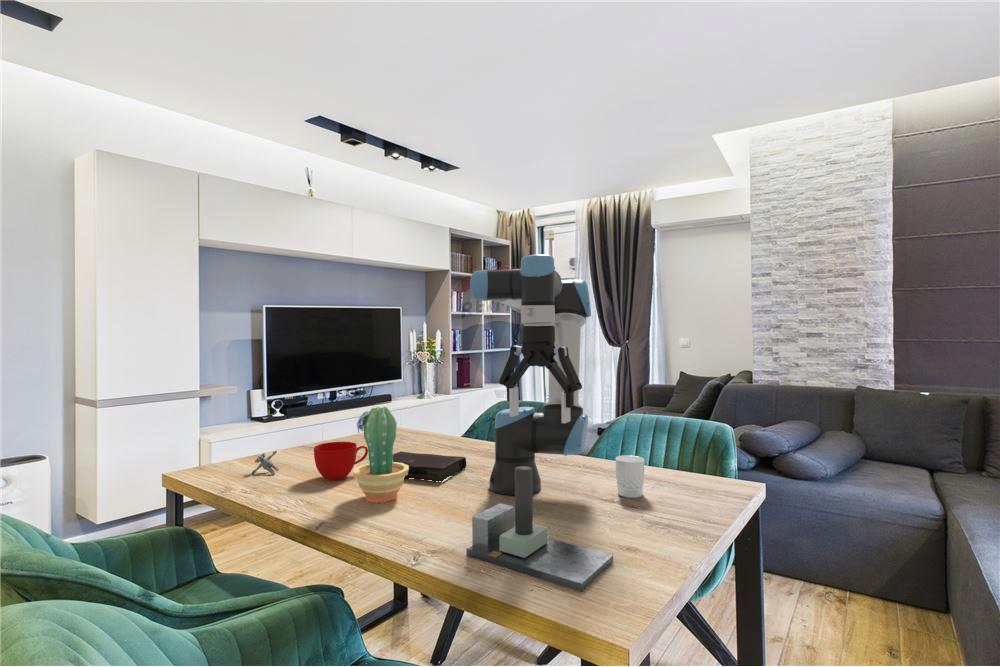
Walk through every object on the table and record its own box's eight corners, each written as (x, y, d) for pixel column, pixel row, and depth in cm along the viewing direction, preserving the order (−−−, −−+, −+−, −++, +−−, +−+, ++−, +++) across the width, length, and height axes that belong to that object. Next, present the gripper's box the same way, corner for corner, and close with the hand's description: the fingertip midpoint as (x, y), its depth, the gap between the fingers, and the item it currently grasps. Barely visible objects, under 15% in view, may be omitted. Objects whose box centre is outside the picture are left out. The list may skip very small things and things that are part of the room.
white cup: (645, 499, 141) (645, 462, 141) (615, 497, 143) (615, 461, 143) (643, 490, 149) (643, 455, 149) (615, 489, 150) (615, 454, 150)
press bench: (466, 555, 106) (466, 519, 106) (505, 533, 118) (504, 500, 118) (581, 592, 92) (581, 549, 91) (613, 562, 103) (612, 524, 103)
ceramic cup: (375, 476, 164) (374, 445, 164) (320, 486, 155) (320, 452, 155) (361, 468, 175) (360, 438, 175) (309, 476, 165) (309, 445, 165)
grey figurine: (258, 479, 163) (243, 465, 168) (267, 488, 167) (252, 474, 172) (283, 455, 168) (268, 442, 172) (292, 465, 172) (276, 452, 177)
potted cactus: (383, 485, 155) (383, 402, 155) (421, 494, 146) (420, 406, 146) (340, 499, 142) (340, 408, 142) (379, 510, 133) (378, 413, 133)
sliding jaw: (499, 550, 105) (499, 471, 105) (523, 535, 112) (523, 461, 112) (524, 557, 101) (524, 476, 101) (547, 542, 109) (547, 466, 109)
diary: (401, 464, 183) (401, 450, 183) (466, 470, 174) (466, 455, 174) (370, 477, 165) (370, 462, 165) (441, 485, 157) (441, 468, 157)
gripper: (483, 325, 120) (485, 415, 121) (581, 325, 106) (581, 428, 107) (502, 324, 127) (503, 410, 127) (596, 324, 112) (597, 421, 113)
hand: (539, 419), depth 117 cm, fingers open, 13 cm apart
